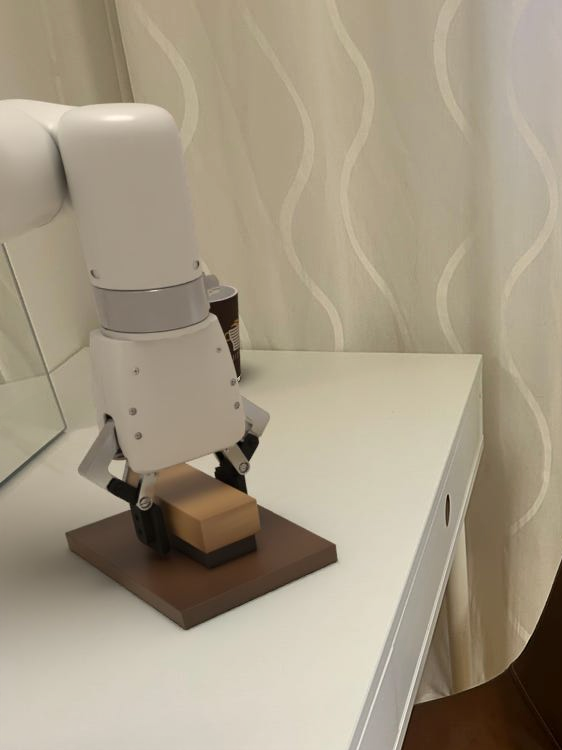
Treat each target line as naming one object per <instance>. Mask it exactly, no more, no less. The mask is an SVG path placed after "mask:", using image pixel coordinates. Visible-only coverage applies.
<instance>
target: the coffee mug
mask: <svg viewBox="0 0 562 750" xmlns="http://www.w3.org/2000/svg"><path fill="white" fill-rule="evenodd" d="M219 285H220V290H219V292H218V293H216V294H212V295H211V296H210V297H209V303H210V309H209V313H212V314H214V315H216V317H217V319H218V321H219V323H220V326H221V328H222V331H223V334H224V336H225V339H226V342H227V344H228V347H229V351H230V354H231V357H232V360H233V364H234V368H235V371H236V375H237V378H238V377H239V376H240V374H241V375H242V369H241V367H242V366H241V344H240V343H241V341H240V340H241V339H240V316H239V315H240V314H239V290H238V288H237V287H234V286H233V285H232V286H231V285H227V284H220V283H219Z"/></svg>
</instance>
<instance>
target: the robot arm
mask: <svg viewBox="0 0 562 750" xmlns="http://www.w3.org/2000/svg"><path fill="white" fill-rule="evenodd" d="M187 175H188V174H187V170H186V164H185V158H184V150H183V145H182V140H181V135H180V130H179V126H178V125H177V122H176V120H175V119H174V116H172V115H171V113H170V112H169V111H168V110H167V109H165V108H163V107H161V106H159V105H155V104H152V103H144V102H143V103H142V102H110V103H109V102H108V103H96V104H95V103H94V104H87V105H81V106H76V105H67V104H62V103H61V104H60V103H54V102H48V101H42V100H34V99H27V98H26V99H24V98H11V99H1V100H0V245H3V244H4V243H8V242H10V241H13V240H14V239H18V238H19V237H21V236H23V235H26V234H27V233H29V232H31V231H33V230H35V229H38V228H41V227H44V226H47V225H50V224H52V223H55V222H58V221H61V220H63V219H65V218H70V217H74V218H75V222H76V227H77V231H78V235H79V239H80V244H81V248H82V253H83V257H84V261H85V266H86V269H87V274H88V278H89V283H90V288H91V292H92V297H93V301H94V306H95V310H96V313H97V319H98V323H99V328H96V329H92V330H90V332H89V368H90V369H89V370H90V380H91V381H90V382H91V389H92V396H93V397H92V398H93V403H94V410H95V417H96V422H97V428H98V432H99V433H98V435H97V437H96V439H95V440H94V441H93V443H92V444H91V446H90V448H89V450H88V451H87V452H86V454H85V456H84V457H83V459H82V461H81V462H80V464H79V465H78V468H77V473H78V475H79V476H81V477H83V478H85V479H86V480H88V481H89V482H91V483H92V484H94V485H96V486H98V487H100V488H101V489H103V490H104V491H106V492H107V493H109V494H112V495H113V496H115V497H116V498H118V499H120V500H123V501H124V502H126V503H128V505H129V510H130V509H131V514H132V518H133V522H134V526H135V531H136V535H137V537H138V539H139V540H140V542H142V543H143V544H145V545H147V546H149V547H150V548H152V549H153V550H155V551H156V552H158V553H160V554H161V555H163V554H165V553H168V552H169V550H170V545H169V540H168V536H167V531H166V526H165V522H164V517H163V512H162V509H161V507H160V506H158V505H157V504H155V503H154V502H153V499H154V495H155V490H156V485H157V480H158V476H159V471H161V470H164V469H168V468H171V467H174V466H177V465H180V464H183V463H186V464H187V463H188V462H192V461H195V460H197V459H200V458H203V457H206V456H209V455H211V454H212V455H213V457H214V459H216V460H217V462H218V463H219V464H218V465H219V466H216V467H214V472H213V473H214V478H216V479H218V480H220V481H221V482H223V483H225V484H227V485H229V486H231V487H233V488H235V489H237V490H239V491H241V492H243V493H245V494H247V495H249V493H248V487H247V479H246V475H247V474H248V473H249V472H250V470H251V464H250V461H251V459H252V457H253V456H254V454H255V453H256V452H257V449H258V447H259V445H260V438H261V437H262V435H263V434H264V431H265V430H266V428H267V426H268V424H269V422H270V420H271V415H270V413H269V412H268V411H266V410H265V409H263V408H261V407H260V406H258V405H257V404H255V403H254V402H252V401H250V400H249V399H248V398H247V397H245V396H243V395H242V393H241V389H240V383H239V382H238V379H237V375H236V371H235V368H234V364H233V360H232V357H231V354H230V351H229V347H228V344H227V342H226V339H225V336H224V334H223V331H222V328H221V326H220V323H219V321H218V319H217V317H216V315H214V314H212V313H209V309H210V303H209V297H210V296H211V295H212V294H216V293H218V292H219V290H220V285H219V284H220V282H219V279H218V277H217V276H216V275H215V274H213V273H212V274H206V273H205V271H203V267H202V261H201V255H200V249H199V242H198V237H197V231H196V224H195V217H194V213H193V212H194V211H193V207H192V201H191V195H190V188H189V181H188V176H187ZM112 461H125V464H124V469H123V473H122V478H121V479H120V478H119V477H117V476H115V475H114V474H112V473H111V472H110V471H109V466H110V464H111V463H112Z"/></svg>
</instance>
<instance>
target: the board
mask: <svg viewBox="0 0 562 750" xmlns="http://www.w3.org/2000/svg"><path fill="white" fill-rule="evenodd" d="M257 507H258V514H259V520H260V527H261V532H258V533H256V534H255V538H256V544H257V549H255V550H253V551H250V552H248V553H246V554H243V555H241V556H238V557H236V558H234V559H231V560H229V561H227V562H224V563H222V564H219V565H217V566H215V567H212V568H208V567H206V566H205V565H203V564H202V563H200V562H198V561H197V560H195V559H193V558H192V557H190V556H189V555H187V554H185V553H184V552H182V551H180V550H179V549H177V548H176V547H174V546H172V545H171V544H169V545H170V550H169V552H168V553H165V554H163V555H161V554H160V553H158V552H156V551H155V550H153V549H152V548H150V547H149V546H147V545H145V544H143V543H142V542H140V540H139V539H138V537H137V535H136V531H135V526H134V522H133V518H132V514H131V509H130V508H129V509H128V510H125V511H122V512H119V513H116V514H113V515H111V516H108V517H104V518H102V519H99V520H97V521H94V522H91V523H88V524H86V525H83V526H79V527H77V528H74V529H71V530H69V531H66V532H65V533H64V535H65V538H66V542H67V545H68V548H69V549H70V550H71V551H72V552H74V553H75V554H77V555H78V556H79V557H81V558H83V559H84V560H85V561H87V562H88V563H90V564H91V565H92V566H94V567H96V568H97V569H98V570H100V571H101V572H102V573H104V574H105V575H106V576H108V577H109V578H111V579H113V580H114V581H115V582H117V583H118V584H120V585H121V586H122V587H124V588H126V590H129V591H130V592H131V593H132V594H134V595H135V596H137V597H138V598H139V599H141V600H142V601H144V602H146V603H147V604H148V605H150V606H151V607H153V608H154V609H155V610H157V611H158V612H160V613H161V614H163V615H164V616H165V617H167V618H168V619H170V620H171V621H173V622H174V623H175V624H177V625H179V626H180V627H181V628H183V629H184V630H188V629H189V628H192V627H195V626H197V625H199V624H201V623H203V622H205V621H208V620H209V619H212V618H214V617H216V616H219V615H221V614H222V613H225V612H227V611H229V610H231V609H234V608H236V607H238V606H240V605H243V604H245V603H247V602H249V601H251V600H253V599H257V598H258V597H261V596H263V595H265V594H267V593H269V592H271V591H273V590H275V589H278V588H280V587H282V586H284V585H287V584H289V583H291V582H293V581H295V580H298V579H300V578H302V577H304V576H307V575H309V574H310V573H313V572H315V571H318V570H319V569H322V568H324V567H326V566H328V565H330V564H333V563H335V562H337V561H338V551H337V544H336V543H334V542H333V541H331V540H328V539H326V538H324V537H322V536H321V535H319V534H316V533H314V532H313V531H310V530H309V529H307V528H305V527H304V526H301V525H299V524H297V523H295V522H294V521H291V520H289V519H287V518H285V517H284V516H281V515H280V514H278V513H276V512H274V511H273V510H270V509H268V508H266V507H264V506H262V505H260V504H258V503H257Z"/></svg>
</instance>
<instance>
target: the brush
mask: <svg viewBox="0 0 562 750" xmlns="http://www.w3.org/2000/svg"><path fill="white" fill-rule="evenodd" d="M153 502H154V503H155V504H157V505H158V506H160V507H161V509H162V512H163V517H164V522H165V526H166V531H167V536H168V540H169V544H171V545H172V546H174V547H176V548H177V549H179V550H180V551H182V552H184V553H185V554H187V555H189V556H190V557H192V558H193V559H195V560H197V561H198V562H200V563H202V564H203V565H205V566H206V567H208V568H212V567H215V566H217V565H219V564H222V563H224V562H227V561H229V560H231V559H234V558H236V557H238V556H241V555H243V554H246V553H248V552H250V551H253V550H255V549H257V544H256V538H255V534H256V533H258V532H261V527H260V520H259V514H258V507H257V504H258V502H257V499H256V498H255V497H253V496H251V495H249V494H248V495H247V494H245V493H243V492H241V491H239V490H237V489H235V488H233V487H231V486H229V485H227V484H225V483H223V482H221V481H220V480H218V479H216V478H215V476H214V477H213V476H212V475H211V474H208V473H206V472H204V471H202V470H200V469H199V468H196V467H194V466H192V465H190V464H189V463H187V462H186V463H183V464H180V465H177V466H174V467H171V468H168V469H164V470H161V471H159V476H158V480H157V485H156V490H155V495H154V499H153Z"/></svg>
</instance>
